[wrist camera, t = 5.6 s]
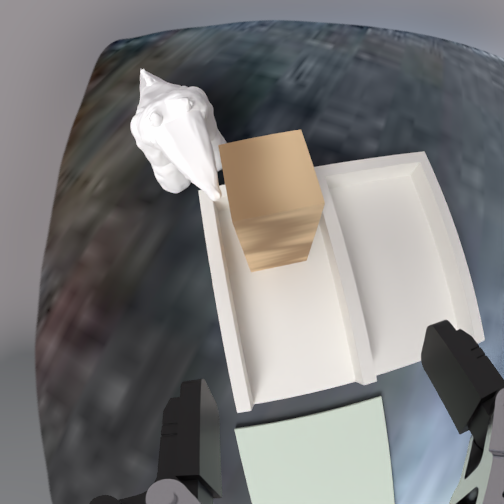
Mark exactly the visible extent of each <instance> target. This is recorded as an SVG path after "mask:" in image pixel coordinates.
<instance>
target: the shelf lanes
mask: <svg viewBox="0 0 504 504" xmlns="http://www.w3.org/2000/svg"><path fill="white" fill-rule="evenodd" d="M314 170H315V173H316V176H317V179H318V182H319V185H320V188H321V192H322V195H323V198H324V202H325V205H324V208H323V211H322V214H321V218H320V221H319V224H318V227H317V230H316V233H315V236H314V240H313V243H312V246H311V249H310V252H309V255H308V258H307V261H303V262H298V263H293V264H289V265H284V266H279V267H274V268H270V269H265V270H260V271H255V272H251V271H250V268H249V266H248V263H247V260H246V258H245V255H244V252H243V250H242V247H241V244H240V242H239V239H238V236H237V234H236V231H235V228H234V226H233V223H232V219H231V213H230V208H229V202H228V197H227V191H226V186H225V185H221V186H219V187H220V190H221V192H222V197H221V199H220V200H218V201H212V200H211V199H210V198H209V197H208V195H207V194H206V193H205V192H204V191H203V190H199V198H200V205H201V212H202V219H203V226H204V232H205V239H206V245H207V252H208V258H209V264H210V270H211V276H212V282H213V288H214V294H215V300H216V306H217V311H218V317H219V322H220V328H221V333H222V339H223V344H224V349H225V355H226V360H227V365H228V370H229V375H230V380H231V385H232V390H233V395H234V400H235V404H236V409H237V413H239V412H246V411H251V410H252V408H253V405H254V404H258V403H264V402H269V401H274V400H280V399H285V398H290V397H294V396H299V395H304V394H308V393H312V392H317V391H321V390H325V389H329V388H333V387H337V386H341V385H345V384H348V383H352V382H355V381H356V382H358V383H360V384H362V385H366V384H370V383H373V382H376V381H377V379H376V375H379V374H383V373H386V372H389V371H392V370H395V369H398V368H401V367H404V366H407V365H410V364H413V363H416V362H418V361H421V352H422V347H423V343H424V338H425V334H426V329H427V327H428V326H429V325H432V324H434V323H437V322H440V321H443V320H448V321H449V322H450V323H451V324H452V325H453V327H454V328H455V329H456V330H459V329H462V330H463V331H465V332H466V333H468V334H469V335H471V336H472V337H473V338H474V340H475V341H476V342H477V344H478V343H480V342H482V341H484V340H485V339H484V333H483V328H482V323H481V318H480V313H479V309H478V304H477V300H476V296H475V292H474V288H473V284H472V280H471V276H470V273H469V269H468V266H467V262H466V259H465V256H464V252H463V249H462V246H461V243H460V240H459V237H458V234H457V231H456V228H455V225H454V222H453V219H452V216H451V214H450V211H449V208H448V206H447V203H446V201H445V198H444V195H443V193H442V190H441V188H440V186H439V183H438V181H437V178H436V176H435V174H434V171H433V169H432V167H431V165H430V162H429V160H428V158H427V156H426V154H425V152H424V151H423V152H415V153H406V154H398V155H390V156H383V157H376V158H368V159H362V160H355V161H348V162H342V163H336V164H329V165H323V166H317V167H314Z"/></svg>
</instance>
